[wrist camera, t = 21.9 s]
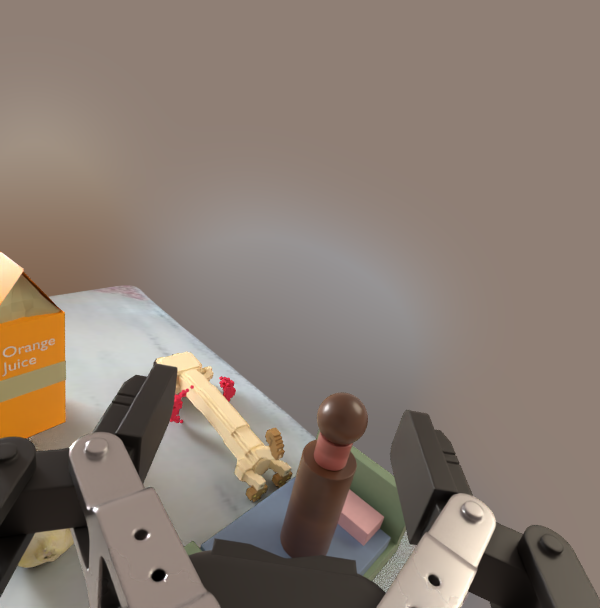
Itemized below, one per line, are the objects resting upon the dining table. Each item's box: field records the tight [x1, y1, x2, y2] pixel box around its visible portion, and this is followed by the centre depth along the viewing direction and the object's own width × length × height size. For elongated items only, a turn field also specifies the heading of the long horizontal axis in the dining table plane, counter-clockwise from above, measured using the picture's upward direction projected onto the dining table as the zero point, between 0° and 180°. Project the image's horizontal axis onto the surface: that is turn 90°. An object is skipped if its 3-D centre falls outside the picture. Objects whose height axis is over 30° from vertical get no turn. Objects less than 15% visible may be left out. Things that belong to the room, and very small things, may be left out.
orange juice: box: [0, 252, 66, 438], centre depth 48 cm, size 8×9×20 cm
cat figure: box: [153, 352, 292, 502], centre depth 56 cm, size 10×9×25 cm
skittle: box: [280, 393, 368, 558], centre depth 38 cm, size 5×5×16 cm
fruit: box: [18, 528, 74, 568], centre depth 39 cm, size 6×6×10 cm
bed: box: [184, 430, 406, 581], centre depth 41 cm, size 12×18×8 cm, turn 139°
